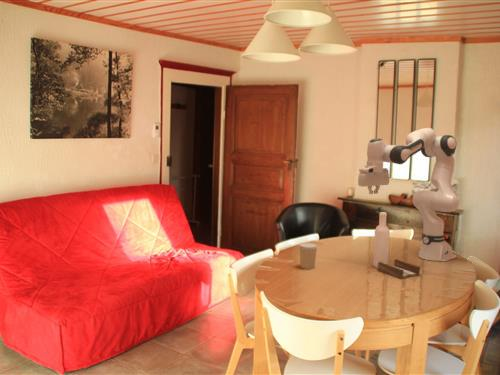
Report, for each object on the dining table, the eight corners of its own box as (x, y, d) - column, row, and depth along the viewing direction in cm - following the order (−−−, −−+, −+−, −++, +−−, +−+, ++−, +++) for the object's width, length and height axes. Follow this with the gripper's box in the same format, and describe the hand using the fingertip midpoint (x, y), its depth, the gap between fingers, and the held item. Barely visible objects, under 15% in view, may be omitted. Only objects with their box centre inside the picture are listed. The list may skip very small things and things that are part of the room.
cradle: (396, 267, 277) (396, 259, 276) (419, 275, 263) (419, 266, 263) (377, 270, 270) (378, 262, 270) (400, 279, 257) (401, 270, 256)
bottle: (388, 269, 273) (391, 214, 269) (373, 268, 275) (375, 213, 271) (387, 265, 281) (390, 211, 277) (372, 263, 282) (375, 210, 278)
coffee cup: (318, 265, 277) (319, 244, 275) (313, 270, 269) (313, 248, 267) (302, 263, 281) (302, 242, 279) (296, 268, 273) (297, 246, 271)
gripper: (384, 167, 285) (383, 191, 287) (356, 168, 275) (355, 194, 277) (392, 168, 280) (391, 193, 282) (364, 169, 270) (363, 195, 272)
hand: (373, 193), depth 279 cm, fingers closed
